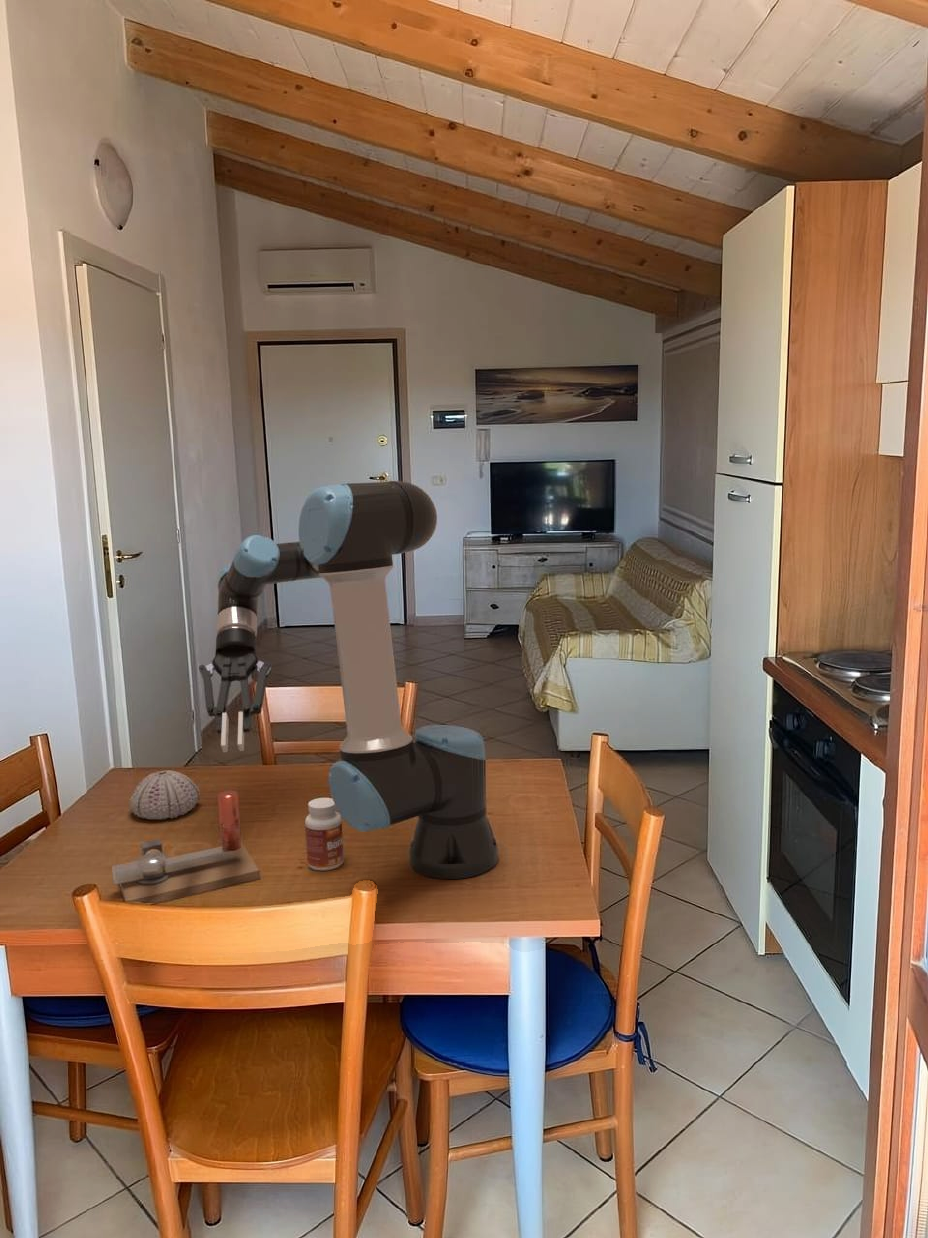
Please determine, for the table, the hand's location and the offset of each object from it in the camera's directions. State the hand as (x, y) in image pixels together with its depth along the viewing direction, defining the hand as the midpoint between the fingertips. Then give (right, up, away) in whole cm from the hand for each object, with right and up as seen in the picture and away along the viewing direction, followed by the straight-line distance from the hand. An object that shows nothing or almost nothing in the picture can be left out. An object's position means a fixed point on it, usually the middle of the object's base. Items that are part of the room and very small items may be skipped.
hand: (232, 748), depth 166 cm
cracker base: (-5, -20, -8) cm, 23 cm away
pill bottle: (+17, -19, -5) cm, 26 cm away
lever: (-6, -18, -11) cm, 22 cm away
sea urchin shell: (-18, -15, +20) cm, 31 cm away
